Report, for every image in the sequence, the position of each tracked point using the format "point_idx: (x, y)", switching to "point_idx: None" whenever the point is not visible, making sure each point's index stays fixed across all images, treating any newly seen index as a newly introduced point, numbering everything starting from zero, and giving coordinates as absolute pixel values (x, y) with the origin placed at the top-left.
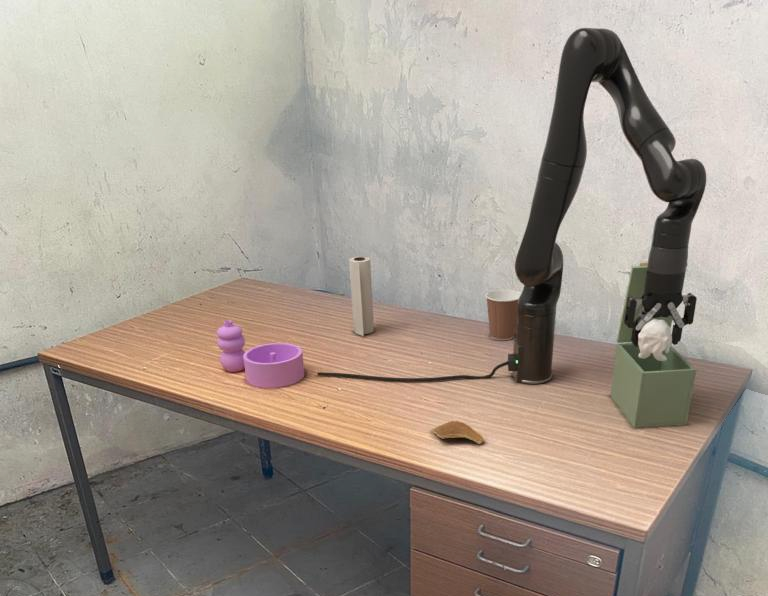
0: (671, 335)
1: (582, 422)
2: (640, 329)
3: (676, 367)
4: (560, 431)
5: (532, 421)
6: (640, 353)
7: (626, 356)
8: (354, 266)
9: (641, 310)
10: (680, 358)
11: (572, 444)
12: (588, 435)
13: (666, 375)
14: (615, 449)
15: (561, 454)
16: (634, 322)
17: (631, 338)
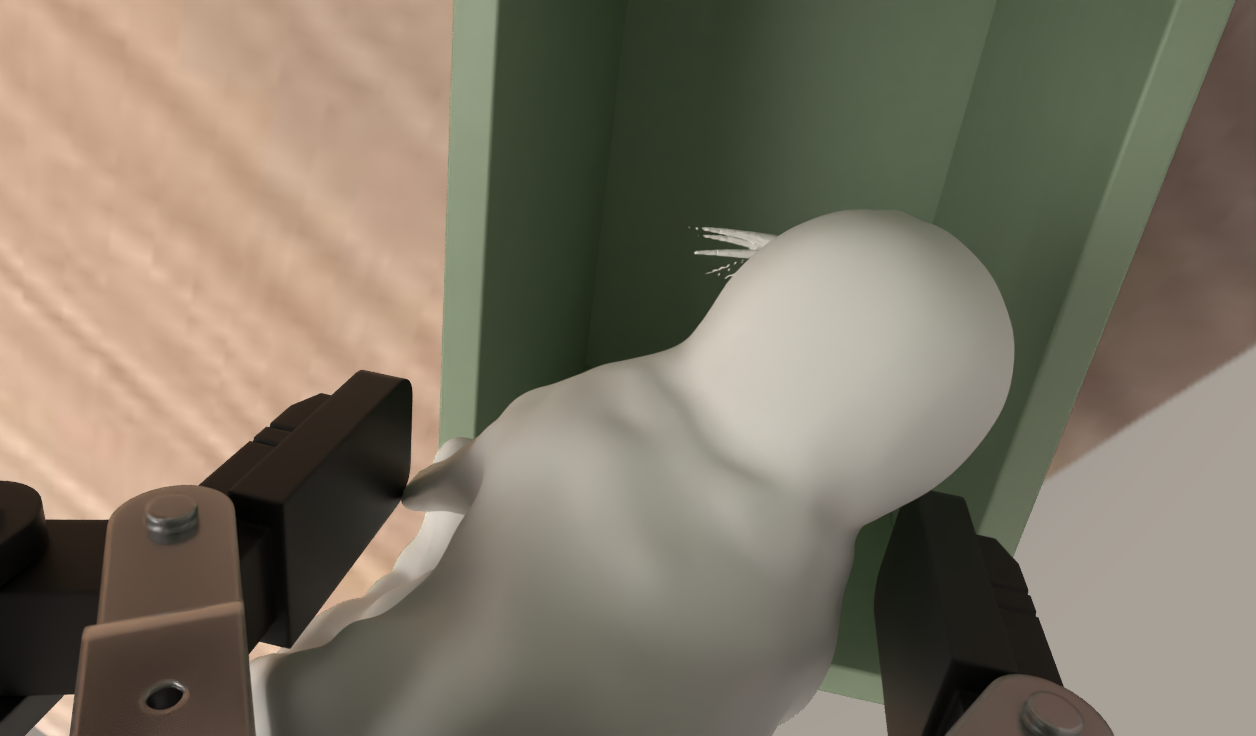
0: (793, 714)
1: (296, 203)
2: (287, 597)
3: None
4: (154, 272)
5: (7, 94)
6: (397, 565)
7: (452, 150)
8: None
9: (74, 719)
10: (1012, 432)
11: (195, 423)
12: (293, 364)
13: None
14: (384, 532)
15: (132, 489)
16: (73, 667)
17: (276, 425)
